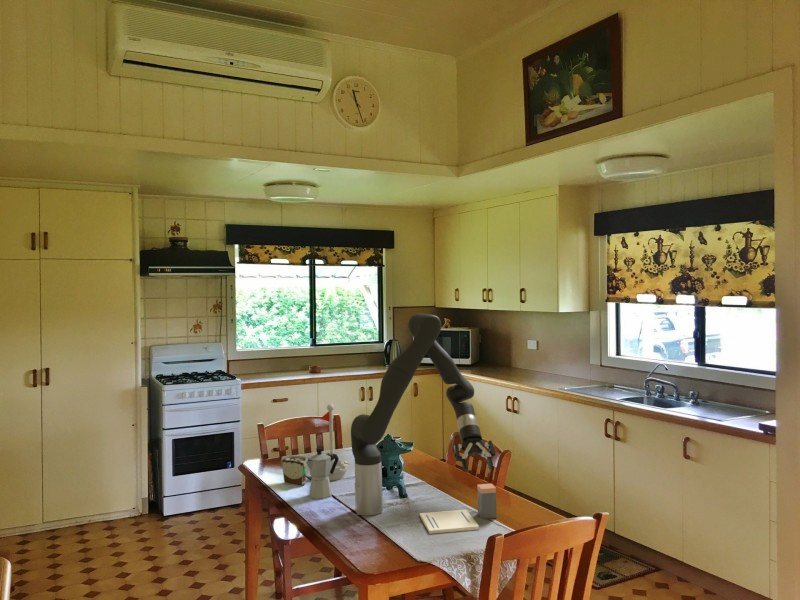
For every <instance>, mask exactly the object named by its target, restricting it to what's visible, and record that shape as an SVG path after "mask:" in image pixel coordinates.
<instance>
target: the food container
mask: <svg viewBox="0 0 800 600" xmlns="http://www.w3.org/2000/svg"><path fill="white" fill-rule="evenodd" d="M307 460H308V458H306V457H305V456H300V455H291V456H285V457H284V456H283V457H281V460H280V464H281V466H282V475H283V484H286V485H292V486H298V487H304V486H305V485H306V478H307V477H306V475H307V467H308V465H307V463H305V462H306V461H307Z"/></svg>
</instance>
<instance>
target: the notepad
mask: <svg viewBox="0 0 800 600" xmlns="http://www.w3.org/2000/svg"><path fill="white" fill-rule="evenodd" d="M419 517H420V519H421V520H422V523H423V525H424V526H425V528H426V530H427V532H428V534H430V535H432V534H442V533H443V534H444V533H452V532H453V533H454V532H455V533H456V532H463V531H464V532H465V531H475V530H477V531H478V530H480V525H479V524H478V523H477V521H476V520H475V519H474V518H473V517H472V515H471V514H470V512H469V511H468V510H467V509H466V508H464V509H453V510H443V511H442V510H441V511H432V512H431V511H430V512H422V513H419Z"/></svg>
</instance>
